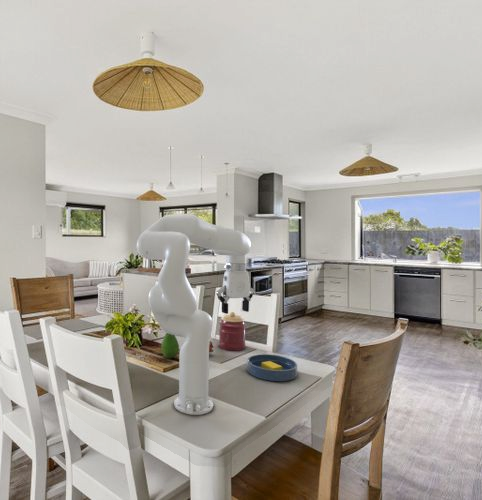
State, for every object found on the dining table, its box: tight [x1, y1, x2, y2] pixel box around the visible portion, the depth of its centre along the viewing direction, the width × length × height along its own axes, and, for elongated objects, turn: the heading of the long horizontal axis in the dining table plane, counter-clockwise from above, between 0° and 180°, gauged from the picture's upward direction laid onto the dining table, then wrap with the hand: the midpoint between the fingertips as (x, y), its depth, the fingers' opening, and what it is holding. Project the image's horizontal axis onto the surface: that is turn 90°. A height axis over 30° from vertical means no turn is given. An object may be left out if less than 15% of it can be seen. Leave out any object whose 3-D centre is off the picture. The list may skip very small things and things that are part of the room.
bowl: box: [246, 353, 298, 382], centre depth 147 cm, size 19×19×4 cm
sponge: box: [261, 361, 282, 370], centre depth 147 cm, size 7×4×3 cm, turn 25°
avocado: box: [160, 332, 180, 360], centre depth 163 cm, size 8×8×12 cm
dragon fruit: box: [209, 340, 214, 353], centre depth 167 cm, size 8×8×12 cm
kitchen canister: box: [218, 311, 247, 351], centre depth 180 cm, size 13×13×18 cm
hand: (235, 312), depth 139 cm, fingers open, 9 cm apart
